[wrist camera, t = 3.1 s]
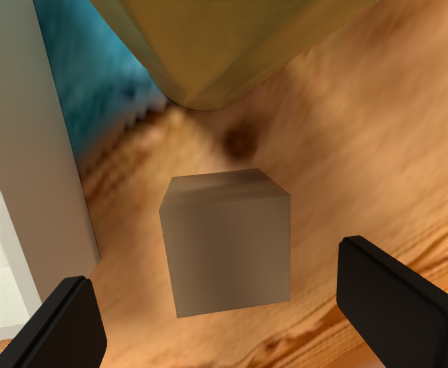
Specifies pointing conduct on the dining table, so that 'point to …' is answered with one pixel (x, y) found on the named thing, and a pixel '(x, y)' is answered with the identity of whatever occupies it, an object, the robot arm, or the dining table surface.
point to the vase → (221, 41)
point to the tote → (35, 177)
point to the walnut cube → (226, 241)
